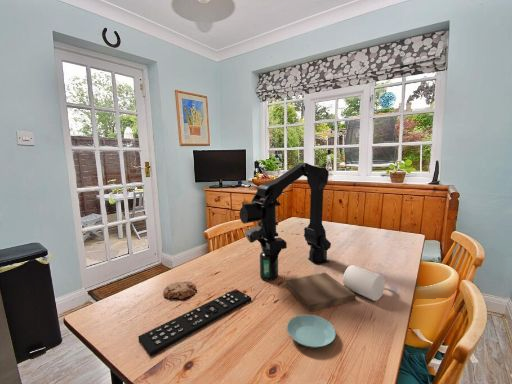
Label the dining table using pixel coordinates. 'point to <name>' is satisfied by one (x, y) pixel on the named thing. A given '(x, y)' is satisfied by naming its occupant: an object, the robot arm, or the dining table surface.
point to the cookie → (179, 290)
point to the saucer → (311, 331)
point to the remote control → (191, 321)
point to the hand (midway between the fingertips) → (269, 260)
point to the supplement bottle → (267, 266)
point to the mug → (364, 282)
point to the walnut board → (319, 291)
